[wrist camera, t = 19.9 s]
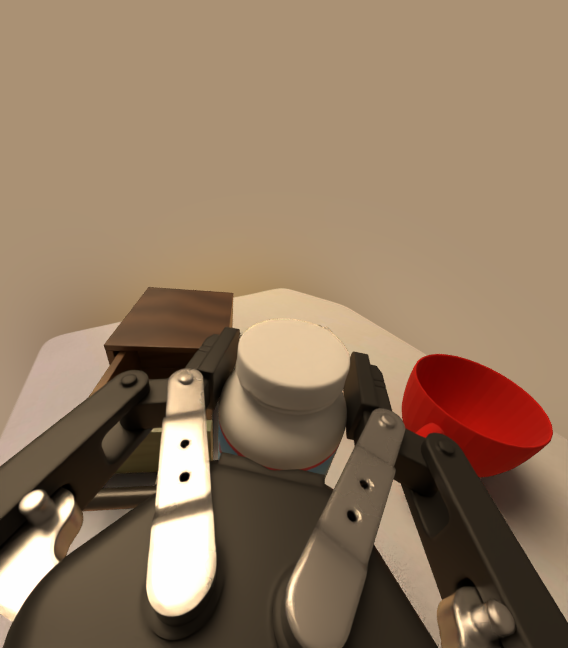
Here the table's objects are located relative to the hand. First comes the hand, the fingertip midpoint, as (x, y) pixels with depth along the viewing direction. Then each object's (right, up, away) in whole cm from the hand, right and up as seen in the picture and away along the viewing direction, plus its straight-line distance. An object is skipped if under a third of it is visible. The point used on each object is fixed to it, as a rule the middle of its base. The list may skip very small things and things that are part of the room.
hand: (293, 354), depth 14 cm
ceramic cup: (+17, -15, +18) cm, 29 cm away
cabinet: (-16, -4, +27) cm, 32 cm away
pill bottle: (-2, -9, +3) cm, 10 cm away
